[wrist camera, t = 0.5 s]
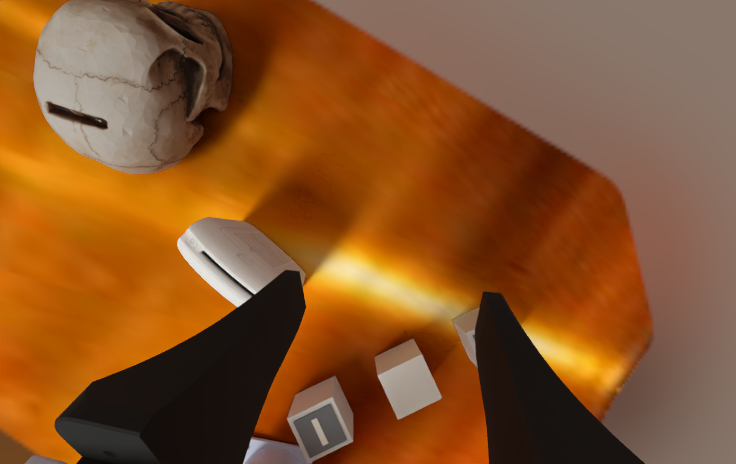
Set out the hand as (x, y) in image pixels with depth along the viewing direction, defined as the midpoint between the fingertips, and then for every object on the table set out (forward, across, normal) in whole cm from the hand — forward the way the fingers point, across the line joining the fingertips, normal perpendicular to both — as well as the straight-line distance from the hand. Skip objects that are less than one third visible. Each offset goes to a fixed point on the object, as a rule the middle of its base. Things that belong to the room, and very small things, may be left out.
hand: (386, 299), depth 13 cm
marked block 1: (+10, +8, +28) cm, 31 cm away
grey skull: (+26, +28, -3) cm, 38 cm away
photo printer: (+18, +16, +13) cm, 27 cm away
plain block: (+14, 0, +25) cm, 28 cm away
